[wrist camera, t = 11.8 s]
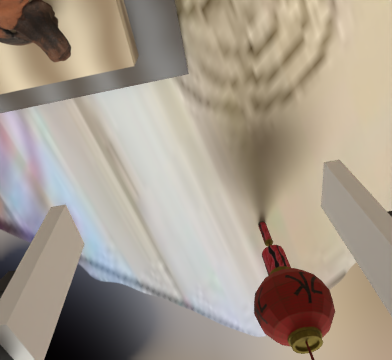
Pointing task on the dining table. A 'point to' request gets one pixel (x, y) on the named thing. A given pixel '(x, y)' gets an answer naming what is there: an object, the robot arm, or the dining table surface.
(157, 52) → the build base
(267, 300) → the lantern
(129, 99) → the dining table surface
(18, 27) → the pottery mug
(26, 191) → the dining table surface
